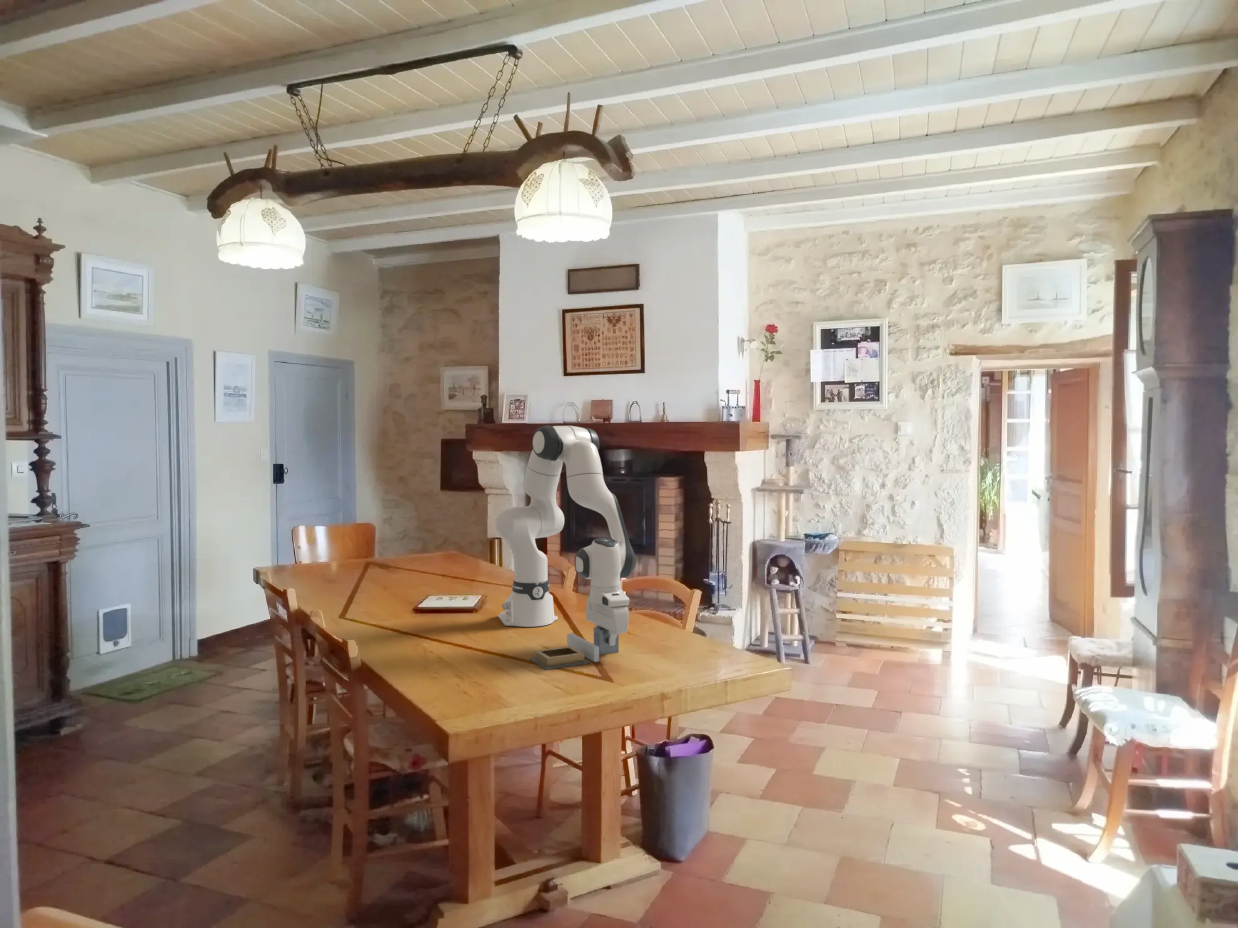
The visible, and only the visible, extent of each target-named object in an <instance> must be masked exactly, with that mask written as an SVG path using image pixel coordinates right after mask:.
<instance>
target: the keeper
mask: <svg viewBox="0 0 1238 928" xmlns="http://www.w3.org/2000/svg"><path fill="white" fill-rule="evenodd" d="M529 660H530V661H531V662H533V663H535V664H536V665H538V666H539V667H540V668H542V669H544V670H545V671H546V670H553V669H561V668H565V667H574V666H579V665H586V664H587V665H588V664H590V660H589V659H587V658H586V657H584V653H582V652H581V651H579V650H577V649H575V648H573V647H571V646H568V647H567V646H563V647H554V648H547V649H541V650H535V651H534V656H533V657H530V658H529Z"/></svg>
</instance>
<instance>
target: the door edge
mask: <svg viewBox="0 0 1238 928" xmlns="http://www.w3.org/2000/svg"><path fill="white" fill-rule="evenodd" d="M566 634H567V640H566V641H567V642H566V643H567V645H566V647H568V646H571V647H573V648H575V649H577V650H579V651H581V652H582V653H584V658H585V659H587V660H589V661H592V662H593V663H597V662H600V655H599V647H598V646H596V645H594V643H592V642H590V641H588V640H586V639H584V638H583V637H580V636H578V635H576V634H575V633H573V632H570V633H566Z"/></svg>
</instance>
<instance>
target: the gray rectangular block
mask: <svg viewBox="0 0 1238 928" xmlns="http://www.w3.org/2000/svg"><path fill="white" fill-rule="evenodd" d="M609 636H610V634H609V630H607V629H605V628H602V627H595V626H594V627H593V644H594V645H596V646H598V647H599V656H602V655H609V654H614V653H619V651H620V649H619V640H620V639H619V638H620V637H619V634H617V637H616V639H615V645H614V646H610V645H608V639H609Z"/></svg>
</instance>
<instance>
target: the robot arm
mask: <svg viewBox="0 0 1238 928" xmlns="http://www.w3.org/2000/svg"><path fill="white" fill-rule="evenodd" d="M531 445H532V450H531V453H530V456H529V459H528V463H527V467H526V470H525V474H524V480H523V483H522V487H523V491H524V492H525V494H527V495H528V496H529V497H530V503H529V505H527V506H526V505H525V506H524V505H523V506H514V507H511V508H507V509H505V510H502V511H500V512H499V513H498V514H497V516H496V519H495V531H496V533H497V534H498V536H499V537H500V538H501V539H502V540H504V542H505V543H506V544H507V545H508V547H509V549H510V551H511V555H512V558H513V559H512V560H513V571H514V573H513V575H514V579H513V580H512V586H511V587H512V588H511V591H512V592H511V593H510V594H509V595H508V596H507V598H506V599H505V602H502V606H501V607H502V610H503V612H500V613H499V614H498V618H499V620H500V621H501V622H502V623H503V625H504V626H510V627H511V626H513V627H524V628H525V627H526V628H531V627H532V628H533V627H543V626H547V625H550V624H552V623H553V622H554V621H555V622H556V621H558V615H555V611H554V610H555V608H554V598H553V595H552V594H550V592H549V591H550V580H549V579H548V578H549V576H548V575H549V574H548V573H549V572H548V571H549V570H548V568H549V565H548V564H549V563H548V561H549V560H548V557H547V555H546V554H545V553H544V552H543V551H541V550H539V549H538V547H537V546H538V545H537V543H536V539H541V538H549V537H552V536H555V535H557V534H559V533H560V532H561V531H563V529H564V526H565V515H564V513H563V510H562V509H561V508H560V507H559V506H558V503H557V489H558V485H559V481H560V478H561V473H562V468H563V465H565V472H566V474H565V475H566V484H567V485H566V486H567V491H568V494H569V496H570V498H571V499H572V500H573V501H574V502H575V504H578V505H579V506H581V507H583V508H586V509H589V510H592V511H594V512H596V513H599V514H601V516H602V517H603V518H604V519H605V521H606V522H607V527H608V531H609V534H610V535H609V536H610V537H611V538H610V537H598V538H595V539H594V540H593V541H592V542H591V544H590V545H588V546H585V547H581V548H580V549H579V550H578V551H577V552H576V554H575V555H574V571H575V572H576V574H577V575H578V576H579V577H581V578H582V579H585V580H591V581H590V582H591V583H590V592H589V594H588V595H589V596H588V597H587V600H586V605H585V607H586V608H585V610H586V611H585V617H586V620H587V622H590V623H591V624H594V628H595V627H602V628H605V629H607V630H609V634H610V636H609V639H608V645H610V646H614V645H615V639H616V637H617V634H626V633H627V631H628V630H629V618H630V617H629V607H628V606H629V605H630V598H629V597H628V595H626V593H625V592H624V590H623V589H622V581H621V579H626V578H628V577H630V575H632V573H633V571H634V570H636V569H635V568H636V566H637V559H636V554H635V552H634V549H633V547H632V545H631V543H630V540H629V536H628V533H627V529H626V524H625V522H624V521H625V520H624V518H623V513H622V510H621V506H620V504H619V501H618V499H617V496H616V494H614V493H613V492H611V491H610V490H609V489H608V487H607V484H606V483H605V482H606V481H605V479H604V472H603V466H602V460H601V457H600V454H599V449H600V439H599V435H598V434H597V432H596V431H595V430H593V429H592V428H588V427H585V426H583V427H580V426H574V425H553V426H552V425H545V426H543V425H542V426H540V427H538V428H537V429H535V431H534V433H533V436H532V440H531Z"/></svg>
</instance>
